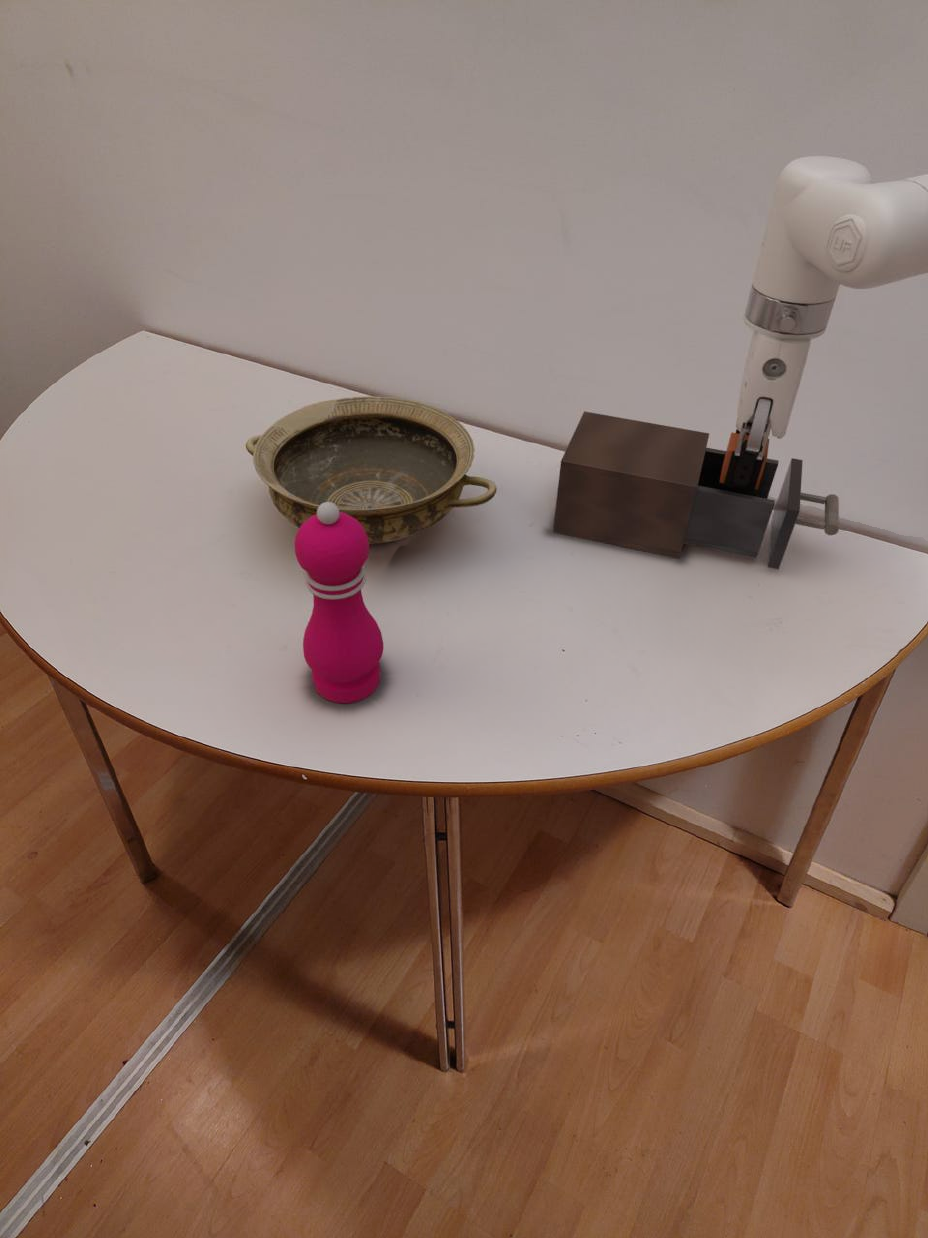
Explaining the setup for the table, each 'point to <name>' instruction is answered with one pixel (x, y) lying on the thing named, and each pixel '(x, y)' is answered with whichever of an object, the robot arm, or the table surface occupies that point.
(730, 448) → the block
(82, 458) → the table surface
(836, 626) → the table surface
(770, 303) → the robot arm
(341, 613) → the pepper mill
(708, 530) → the drawer
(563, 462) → the cabinet
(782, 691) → the table surface
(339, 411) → the ceramic bowl
